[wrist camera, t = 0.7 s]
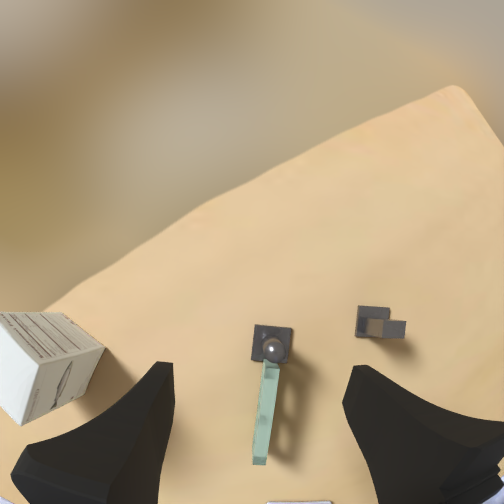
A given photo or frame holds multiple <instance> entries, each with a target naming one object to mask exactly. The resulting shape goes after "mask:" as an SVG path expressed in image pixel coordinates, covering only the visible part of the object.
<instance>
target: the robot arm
mask: <svg viewBox="0 0 504 504" xmlns="http://www.w3.org/2000/svg"><path fill="white" fill-rule="evenodd" d="M342 404H343V408H344V411H345V415H346V418H347V421H348V424H349V426H350V428H351V430H352V432H353V435H354V437H355V439H356V441H357V443H358V445H359V447H360V449H361V451H362V453H363V456H364V458H365V460H366V462H367V465H368V467H369V470H370V473H371V477H372V480H373V483H374V487H375V491H376V494H377V498H378V503H379V504H504V475H503V476H502V477H501V478H500V477H499V476H498V473H499V472H500V468H499V467H498V465H497V464H498V463H499V462H500V461H501V459H502V458H503V457H504V422H501V421H490V420H483V419H477V418H472V417H468V416H464V415H461V414H458V413H454V412H451V411H448V410H446V409H443V408H441V407H438V406H436V405H434V404H432V403H429V402H427V401H425V400H423V399H421V398H420V397H418V396H416V395H414V394H412V393H411V392H409V391H407V390H406V389H404V388H403V387H401V386H399V385H398V384H396V383H395V382H393V381H392V380H390V379H389V378H387V377H386V376H384V375H383V374H381V373H379V372H378V371H376V370H375V369H373V368H371V367H370V366H368V365H357V366H353V370H352V373H351V376H350V379H349V383H348V386H347V389H346V392H345V395H344V398H343V401H342ZM174 407H175V393H174V375H173V363H169V362H159V361H157V362H156V363H155V364H154V365H153V366H152V367H151V368H150V370H149V371H148V372H147V373H146V374H145V375H144V376H143V377H142V378H141V380H140V381H139V382H138V383H137V384H136V385H135V386H134V387H133V388H132V389H131V390H130V391H129V392H128V393H126V394H125V395H124V396H123V397H122V398H121V399H120V400H119V401H117V402H116V403H115V404H114V405H113V406H111V407H110V408H109V409H107V410H106V411H105V412H103V413H102V414H100V415H99V416H97V417H96V418H94V419H92V420H91V421H89V422H87V423H85V424H84V425H82V426H80V427H78V428H76V429H74V430H72V431H69V432H67V433H65V434H62V435H60V436H57V437H54V438H51V439H48V440H44V441H41V442H37V443H33V444H29V445H27V446H26V448H25V449H24V451H23V452H22V454H21V455H20V457H19V459H18V461H17V463H16V465H15V467H14V469H13V471H12V473H11V474H10V475H11V479H12V481H13V483H14V485H15V486H16V488H17V489H18V490H19V491H20V493H21V494H22V495H23V496H24V497H25V499H26V500H27V501H28V502H29V503H30V504H158V492H159V483H160V474H161V469H162V464H163V460H164V456H165V452H166V448H167V444H168V440H169V436H170V432H171V428H172V423H173V415H174ZM0 504H14V503H12V502H10V501H8V500H6V499H5V498H3V497H1V496H0ZM266 504H332V503H331V501H318V502H267V503H266Z"/></svg>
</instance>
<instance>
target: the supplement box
mask: <svg viewBox="0 0 504 504" xmlns="http://www.w3.org/2000/svg"><path fill="white" fill-rule="evenodd" d="M104 350H105V346H103V345H102V344H101V343H99V342H98V341H97V340H96V339H94V338H93V337H92V336H90V335H89V334H88V333H86V332H85V331H84V330H83V329H82V328H80V327H79V326H78V325H77V324H75V323H74V322H73V321H72V320H71V319H69V318H68V317H67V316H66V315H64V314H63V313H62V312H0V406H1V407H2V408H3V409H4V410H5V411H6V412H7V414H8V415H9V416H10V417H11V418H12V419H13V420H14V421H15V422H16V423H17V424H19V425H20V426H23V425H25V424H27V423H29V422H31V421H33V420H35V419H37V418H39V417H41V416H43V415H45V414H47V413H49V412H51V411H53V410H55V409H57V408H59V407H61V406H63V405H65V404H67V403H69V402H71V401H73V400H75V399H77V398H79V397H81V396H83V395H84V394H85V391H86V389H87V386H88V383H89V381H90V379H91V376H92V374H93V372H94V370H95V368H96V366H97V363H98V361H99V359H100V357H101V355H102V354H103V352H104Z"/></svg>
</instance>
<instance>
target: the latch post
mask: <svg viewBox="0 0 504 504" xmlns="http://www.w3.org/2000/svg"><path fill="white" fill-rule="evenodd" d="M389 309H390V308H386V307H371V306H358V312H357V321H356V330H355V336H360V337H380V338H404V336H405V327H406V321H400V320H391V319H389Z"/></svg>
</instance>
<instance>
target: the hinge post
mask: <svg viewBox="0 0 504 504" xmlns="http://www.w3.org/2000/svg"><path fill="white" fill-rule="evenodd" d="M290 335H291V328H288V327H277V326H267V325H257V324H255V328H254V337H253V346H252V354H251V360H257V361H263V360H264V359H267V360H268V361H269V362H271V363H287V359H288V352H289V343H290Z"/></svg>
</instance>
